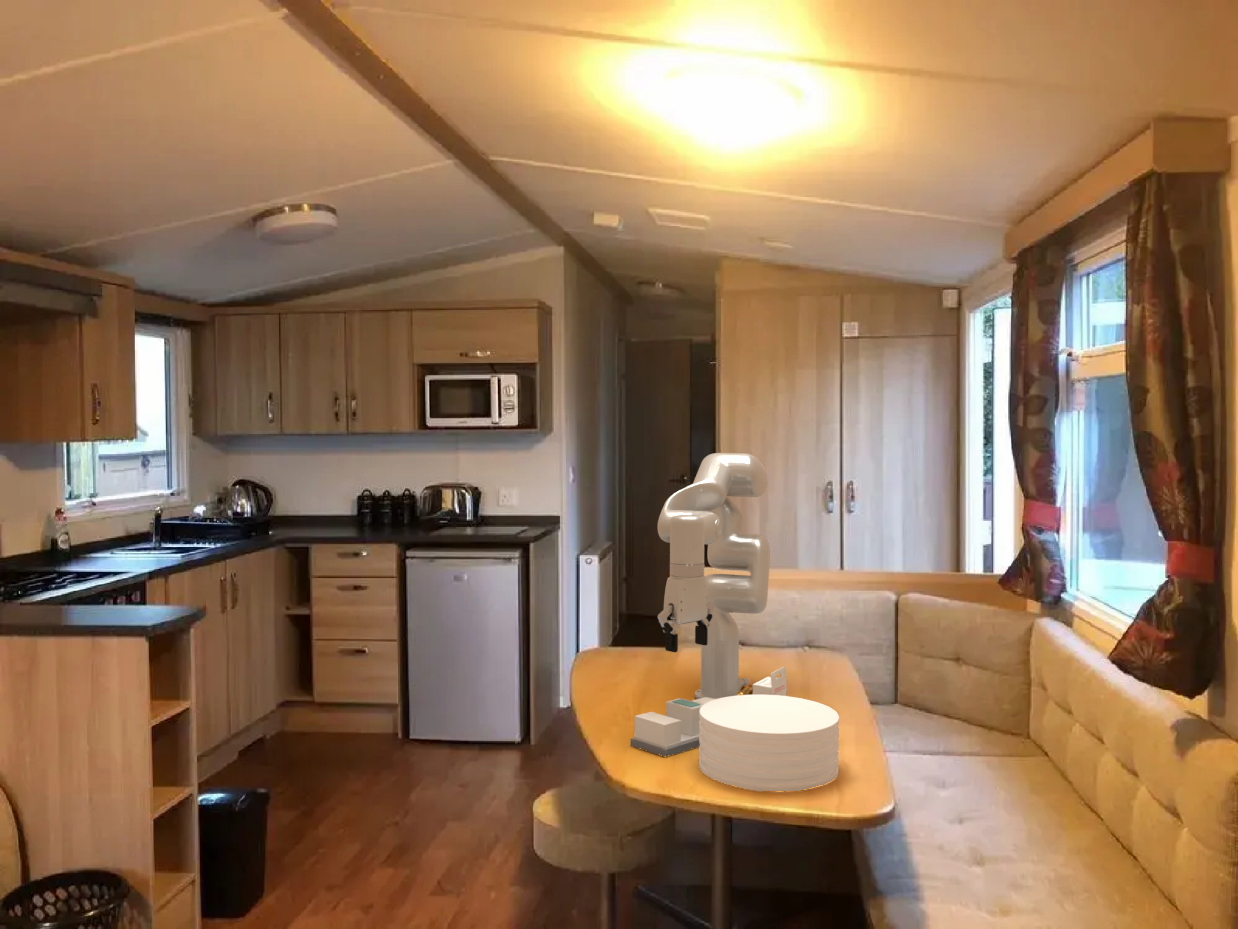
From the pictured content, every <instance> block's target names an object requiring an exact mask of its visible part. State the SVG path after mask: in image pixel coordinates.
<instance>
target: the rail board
mask: <svg viewBox="0 0 1238 929" xmlns="http://www.w3.org/2000/svg"><path fill="white" fill-rule="evenodd" d="M712 700H715V699H712V698H708V697H704V698H700V699H697V698H695V699H693V700H691V701H693V702H696V703H700V704H703V705H704V704H705V703H707V702H709V701H712ZM629 741H630V747H632V746H633V747H632V748H635V747H636V749H638V748H641V749H643V750H642V751H644V750H647V751H649V752H648V753H650V752H652V753H651V754H653V753H654V754H653V755H656V754H660V755H662V756H668V755H672V754H675V755H678V754H681V753H684V752H683V751H685V752H687V751H686V750H688V751H690V750H689V749H691V748H694V749H697V748H699V747H698V746H700V743H699V735H696V736H693V737H692V736H689V735H686V734H682V733H681V720H678V719H675V718H671V717H668V716H666V715H664V714H660V713H657V712H655V711H649V712H645V713H641V714H637V715H634V736H633V737H632V738H630V740H629ZM696 747H697V748H696ZM641 749H640V750H641ZM691 750H692V749H691ZM647 751H646V752H647ZM680 752H681V753H680ZM662 756H661V757H662ZM672 756H673V755H672Z"/></svg>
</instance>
